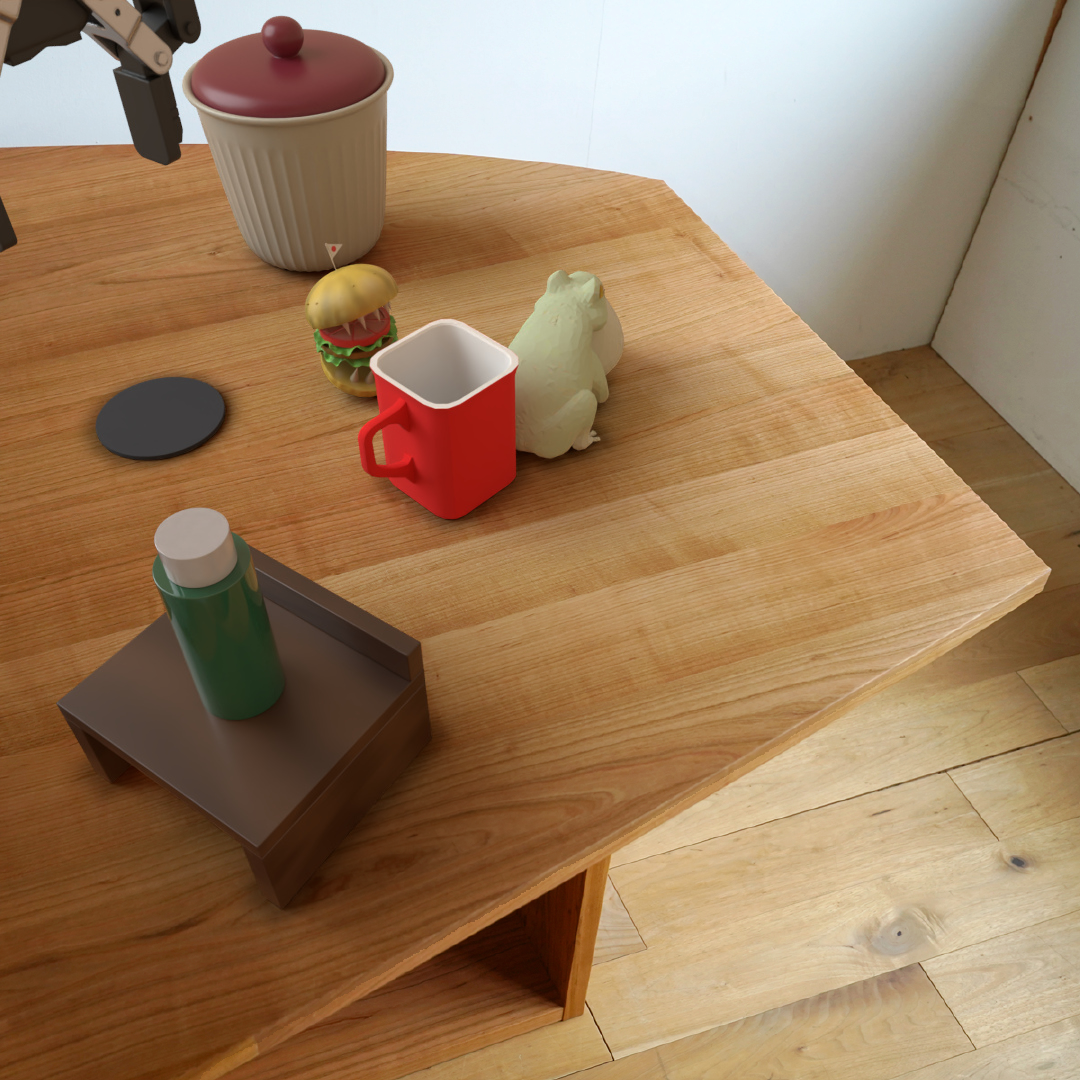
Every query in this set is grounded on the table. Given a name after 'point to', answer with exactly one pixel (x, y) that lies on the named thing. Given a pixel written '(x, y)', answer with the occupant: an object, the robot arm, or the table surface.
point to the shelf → (268, 727)
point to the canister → (298, 140)
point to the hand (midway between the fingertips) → (81, 198)
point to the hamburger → (352, 322)
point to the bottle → (218, 613)
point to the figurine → (564, 364)
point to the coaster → (160, 418)
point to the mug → (444, 417)
